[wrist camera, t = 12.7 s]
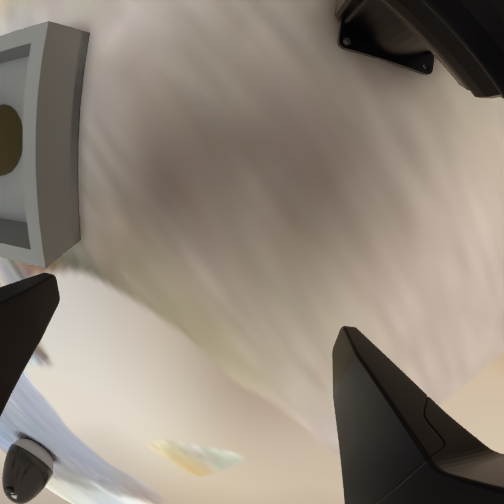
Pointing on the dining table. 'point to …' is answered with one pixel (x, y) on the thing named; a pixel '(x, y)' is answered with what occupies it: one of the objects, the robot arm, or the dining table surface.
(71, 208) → the tray
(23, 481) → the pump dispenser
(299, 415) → the dining table surface
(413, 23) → the robot arm
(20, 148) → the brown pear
